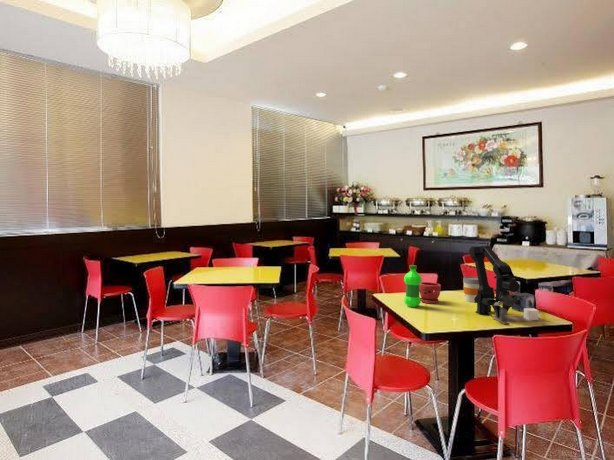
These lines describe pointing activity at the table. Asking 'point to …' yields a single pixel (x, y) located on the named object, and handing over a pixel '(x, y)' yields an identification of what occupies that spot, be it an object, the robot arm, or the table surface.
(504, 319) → the walnut strip
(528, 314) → the off-white block
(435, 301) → the plant pot
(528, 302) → the small box
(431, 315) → the table surface
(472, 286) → the reusable coffee cup
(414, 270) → the plastic bottle
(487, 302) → the robot arm
